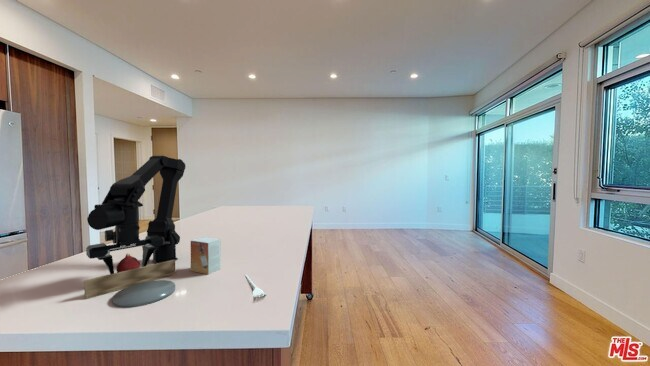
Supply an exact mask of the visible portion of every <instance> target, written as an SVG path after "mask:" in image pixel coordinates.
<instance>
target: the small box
mask: <svg viewBox="0 0 650 366" xmlns="http://www.w3.org/2000/svg"><path fill="white" fill-rule="evenodd" d="M221 244H222V243H221V239H220V238H211V237H200V238H195V239H191V240H190V271H191V272H193V273H194V272H196V273H200V274H204V275H210V274H213V273H215V272H217V271H219V270H221V267H222V266H221V261H222V258H221Z"/></svg>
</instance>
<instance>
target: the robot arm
mask: <svg viewBox="0 0 650 366" xmlns="http://www.w3.org/2000/svg"><path fill="white" fill-rule="evenodd" d="M185 170H186V163H185V161H184V160H182V159H180V158H171V157H168V156H165V155H151V156H150V157H149V159H148V160H147V161H145V163H143V165H141V166H140V167H139V168H138V169H137V170H136V171H134V172H133V174H131V175H130V176H127V177H124V178H121V179H119V180H117V181H116V182H114V183H112V185H111V186H110V188H109V190H108V192H107V194H106V196H105V197H104V199H103V201H102V202H101V204H95V205H94V206H93V207H94V209H92V210H91V211H90V212H89V214H88V216H87V218H86V219H87V220H86V221H87V223H88V225H89V227H90V228H91V229H94V230H96V231H100V230H104V229H108V228H112V227H114V228H115V229H108V230H105V231H104V241H105V242H111V241H112V244H108V245H107V244H106V243H104V242H101V243H95V244H91V245H90V244H89V245H87V247H86V248H85V249H86V252H85V253H86V257H88V258H89V259H97V260H98V261H100V260H101V261H102V262H104V264H105V265H106V268H107V269H108V272H109V275H110V274H114V273H115V270H114V269H115V266H114V261H113V260H114V259H113V255H112V254H111V252H115V251H121V250H126V249H133V248H137V247H142V260H141V261H142V262H141V267H144V266H148V263H149V261H150V258H151V257H152V261H153V262H155V263H156V264H157V263H161V262H165V261H170V260H175V261H177V260H178V259H179V258H178V257H177V252H176V251H177V249H176V248H177V247H176V245H179V243H180V242H181V236H180V235H179V234H178V232H176V224H175V222H174V220H173V219H172V218H173V211H174V206H175V201H176V200H175V199H176V193H177V187H178V183H179V181H181V179H182V178H183V176H184V173H185ZM158 173H159V175H160V177H161V178H162V183H161V189H160V196H159V201H158V206H157V212H156V217H155V218H154V219H153V220H149V222H148V224H147V225H148V226H147V231H146V236H145V238H144V239H140V225H139V208H140V207H143V206H144V204H143V203H142V202H140V201H139V200H140V199H141V197H142V196H143V195H144V193H145V192H146V185H147V184H149V182H151V180H153V178H154V177H155V176H156V175H157V174H158Z"/></svg>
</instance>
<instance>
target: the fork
mask: <svg viewBox="0 0 650 366" xmlns="http://www.w3.org/2000/svg"><path fill="white" fill-rule="evenodd" d="M244 276H245V278H246V279H247V282H248V284H249V285H250V287H251V288H252V289H253V291H252V296H253V298H258V297H259V298H260V297H262V296H267V295H268V293H265V292H264V291H263V290H262V289H261V288H259V287H258V286H257V285H256V284H255V283H254V281H252V279H251V278H250V276H249V275H248V274H247V273H246V274H244Z"/></svg>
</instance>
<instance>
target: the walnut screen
mask: <svg viewBox="0 0 650 366" xmlns="http://www.w3.org/2000/svg"><path fill="white" fill-rule="evenodd" d="M175 275H177V271H176V260H170V261H165V262H161V263H157V262H156V263H153V264H150V265H148V264H147V266H144V267H142V266H140V268H135V269H131V270H127V271H123V272H118V273H117V272H114V274H110V273H109V274H106V275H101V276H98V277H94V278H89V279H85V280H84V281H83V286H84V287H83V289H84V291H83V292H84V293H83V295H84V299H85V300H87V299H91V298H95V297H99V296H102V295H106V294H110V293H113V292H118V291H120V290H122V289H124V288H127V287H129V286H132V285H135V284H139V283H143V282H148V281H155V280H162V279H165V278H169V277H171V276H175Z"/></svg>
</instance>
